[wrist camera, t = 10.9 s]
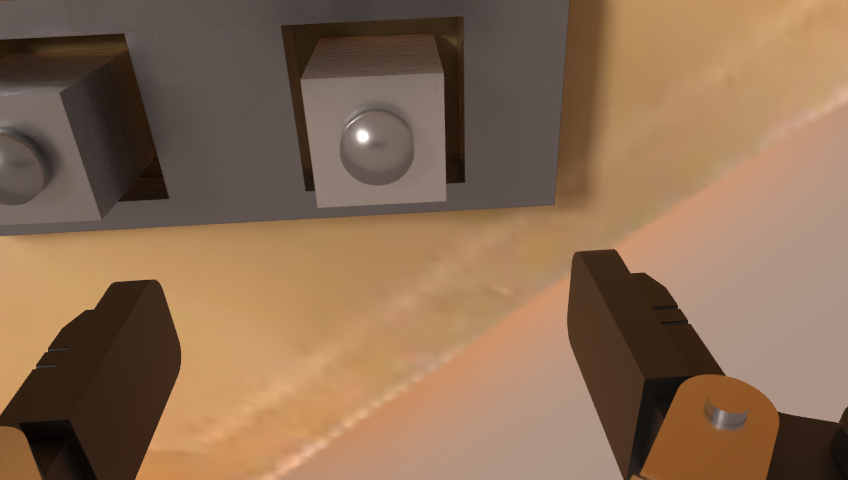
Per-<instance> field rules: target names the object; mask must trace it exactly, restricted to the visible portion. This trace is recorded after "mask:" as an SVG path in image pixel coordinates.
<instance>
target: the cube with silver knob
mask: <svg viewBox="0 0 848 480" xmlns="http://www.w3.org/2000/svg"><path fill="white" fill-rule="evenodd" d="M300 81H301V88H302V96H303V103H304V110H305V118H306V125H307V132H308V140H309V147H310V154H311V162H312V169H313V176H314V184H315V191H316V198H317V206H318V208H323V207H342V206H362V205H381V204H401V203H420V202H440V201H446V161H445V110H444V72H443V68H442V64H441V61H440V57H439V53H438V49H437V46H436V42H435V38H434V35H433V33H425V34H403V35H381V36H359V37H338V38H320V39H319V41H318V43H317V45H316V48H315V50H314V52H313V54H312V56H311V58H310V60H309V62H308V64H307V67H306V69H305V71H304V73H303V75H302V77H301V79H300Z"/></svg>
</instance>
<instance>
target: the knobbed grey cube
mask: <svg viewBox="0 0 848 480" xmlns="http://www.w3.org/2000/svg"><path fill="white" fill-rule="evenodd" d="M156 156H157V151H156V148H155V144H154V140H153V137H152V133H151V129H150V126H149V122H148V119H147V115H146V111H145V108H144V104H143V100H142V97H141V93H140V89H139V86H138V82H137V78H136V75H135V71H134V67H133V64H132V60H131V56H130V53H129V49H128V48H121V49H98V50H75V51H53V52H30V53H13V54H11V55H9V56H7V57H5V58H2V59H0V225H15V224H35V223H55V222H75V221H95V220H102V219H103V218H104V217H105V216H106V215H107V213H108V212H109V211H110V210H111V209H112V208H113V206H114V205H115V204H116V203H117V202H118V201H119V200H120V198H121V197H122V196H123V195H124V194H125V193H126V191H127V190H128V189H129V188H130V187H131V186H132V184H133V183H134V182H135V181H136V180H137V179H138V177H139V176H140V175H141V174H142V173H143V172H144V170H145V169H146V168H147V167H148V166H149V165H150V163H151V162H152V161H153V160H154V159H155V158H156Z"/></svg>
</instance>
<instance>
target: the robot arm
mask: <svg viewBox="0 0 848 480" xmlns="http://www.w3.org/2000/svg"><path fill="white" fill-rule="evenodd" d="M567 326H568V335H569V340H570V344H571V347H572V350H573V352H574V355H575V357H576V360H577V363H578V365H579V368H580V370H581V373H582V375H583V378H584V380H585V383H586V385H587V388H588V390H589V393H590V395H591V398H592V401H593V403H594V406H595V408H596V410H597V413H598V416H599V418H600V421H601V423H602V426H603V428H604V431H605V433H606V436H607V439H608V441H609V444H610V446H611V449H612V451H613V454H614V456H615V459H616V461H617V464H618V466H619V469H620V471H621V474H622V477H623V479H624V480H848V407H847V408H846V409H845V411H844V412H843V414H842V417H841V419H840V421H839V423H836V422H830V421H823V420H818V419H812V418H806V417H800V416H794V415H789V414H784V413H780V412H777V411H776V408H775V407H774V406H773V404H772V402H771V401H770V400H769V399H768V398H767V397H766V396H765V395H764V394H763V393H761V392H760V391H759V390H757V389H756V388H754V387H753V386H751V385H749V384H747V383H745V382H743V381H740V380H738V379H735V378H731V377H727V376H726V375H725V374H724V372H723V371H722V370H721V368H720V367H719V365H718V364H717V362H716V361H715V359H714V358H713V357H712V355H711V353H710V352H709V350H708V349H707V347H706V346H705V345H704V343H703V342H702V340H701V339H700V337H699V336H698V334H697V333H696V331H695V330H694V328H693V327H692V325H691V324H688V320H687V318H686V317H685V315H684V314H683V312H682V311H681V309H678V305H677V303H676V302H675V300H674V299H673V297H672V296H671V295H670V293H669V292H668V290H667V289H666V287H664V286H663V285H661V284H660V283H659V282H657V281H656V280H654V279H653V278H651V277H650V276H648V275H647V274H646V273H632V274H631V273H630V272H629V270H628V268H627V267H626V265H625V264H624V262H623V260H622V259H621V257H620V255H619V254H618V252H617V251H616V250H614V249H609V250H594V251H580V252H575V254H574V256H573V260H572V269H571V281H570V292H569V304H568V314H567ZM180 365H181V347H180V342H179V339H178V336H177V333H176V329H175V326H174V323H173V320H172V317H171V314H170V311H169V308H168V304H167V301H166V298H165V295H164V292H163V289H162V287H161V285H160V283H159V282H158V281H157V280H139V281H124V282H114V283H112V284H111V285H110V286H109V288H108V289H107V291H106V292H105V294H104V295H103V297H102V298H101V300H100V301H99V303H98V304H97V306H96V307H95V309H94V310H85V311H84V312H83V313H81V314H80V315H79V316H78V317H76V318H75V319H74V320H72V321H71V322H70V323H69V324H67V325H66V326H65V327H63V328H62V329H61V331H60V332H59V334H58V335H57V336H56V338H55V339H54V341H53V342H52V343H51V345H50V346H49V348H48V352H45V353H44V355H43V356H42V358H41V359H40V360H39V362H38V363H37V365H36V369H33V370H32V372H31V373H30V374H29V376H28V377H27V379H26V380H25V381H24V383H23V384H22V386H21V387H20V388H19V390H18V391H17V393H16V394H15V395H14V397H13V398H12V400H11V401H10V403H9V404H8V405H7V407H6V408H5V410H4V411H3V412H2V414H1V415H0V480H135V478H136V476H137V473H138V471H139V469H140V466H141V464H142V461H143V459H144V456H145V454H146V452H147V449H148V447H149V444H150V442H151V439H152V437H153V435H154V432H155V430H156V427H157V425H158V423H159V420H160V418H161V415H162V413H163V410H164V408H165V406H166V403H167V401H168V398H169V396H170V394H171V391H172V389H173V386H174V384H175V381H176V379H177V377H178V374H179V370H180Z"/></svg>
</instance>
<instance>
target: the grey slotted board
mask: <svg viewBox="0 0 848 480" xmlns="http://www.w3.org/2000/svg"><path fill="white" fill-rule="evenodd" d="M568 13H569V0H0V39H20V38H40V37H60V36H80V35H100V34H120V33H124V34H125V38H126V42H127V45H128V49H129V53H130V56H131V60H132V64H133V67H134V71H135V75H136V78H137V82H138V86H139V89H140V93H141V97H142V100H143V104H144V108H145V111H146V115H147V119H148V122H149V126H150V129H151V133H152V137H153V140H154V144H155V148H156V151H157V155H158V159H159V162H160V166H161V170H162V173H163V176H157V177H139V178H138V179H137V180H136V181H135V182H134V183H133V184H132V186H131V187H130V188H129V189H128V190H127V191H126V193H125V194H124V195H123V196H122V197H121V198H120V200H119V201H118V202H117V203H116V204H115V205H114V206H113V208H112V209H111V210H110V211H109V212H108V213H107V215H106V216H105V217H104V218H103V219H102V220H95V221H75V222H55V223H35V224H15V225H0V236H8V235H26V234H44V233H62V232H80V231H98V230H116V229H134V228H152V227H169V226H187V225H205V224H223V223H241V222H259V221H277V220H295V219H313V218H331V217H349V216H366V215H384V214H402V213H420V212H438V211H456V210H474V209H492V208H510V207H528V206H546V205H554V203H555V190H556V176H557V162H558V149H559V135H560V122H561V108H562V94H563V81H564V67H565V53H566V40H567V26H568ZM439 17H458V72H459V155H460V160H451V161H446V201H440V202H420V203H401V204H381V205H362V206H342V207H323V208H318V206H317V198H316V191H315V184H314V176H313V169H312V163H311V156H310V148H309V141H308V134H307V127H306V120H305V113H304V106H303V99H302V92H301V85H300V78H299V71H298V63H297V56H296V49H295V42H294V35H293V28H292V25H299V24H319V23H339V22H359V21H379V20H399V19H419V18H439Z"/></svg>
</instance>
